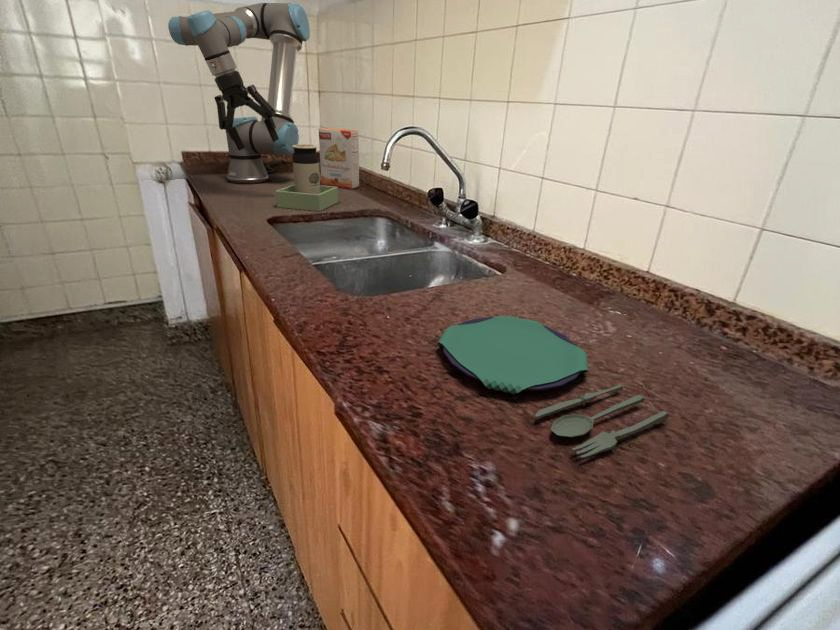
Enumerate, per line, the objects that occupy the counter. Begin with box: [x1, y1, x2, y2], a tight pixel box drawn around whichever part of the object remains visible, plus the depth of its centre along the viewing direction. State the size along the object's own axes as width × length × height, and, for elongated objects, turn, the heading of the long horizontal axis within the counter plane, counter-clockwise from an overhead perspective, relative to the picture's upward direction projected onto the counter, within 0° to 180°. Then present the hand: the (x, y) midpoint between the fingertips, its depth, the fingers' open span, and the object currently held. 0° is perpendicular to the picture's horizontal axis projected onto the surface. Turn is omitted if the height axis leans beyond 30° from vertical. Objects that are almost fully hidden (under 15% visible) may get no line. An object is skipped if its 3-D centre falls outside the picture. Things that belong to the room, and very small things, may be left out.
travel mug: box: [291, 144, 321, 194], centre depth 142 cm, size 8×8×18 cm
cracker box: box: [318, 127, 360, 190], centre depth 171 cm, size 14×6×21 cm, turn 67°
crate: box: [274, 183, 340, 212], centre depth 145 cm, size 15×15×5 cm
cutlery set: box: [437, 315, 670, 460], centre depth 60 cm, size 20×30×2 cm, turn 28°
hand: (258, 144), depth 145 cm, fingers open, 13 cm apart
